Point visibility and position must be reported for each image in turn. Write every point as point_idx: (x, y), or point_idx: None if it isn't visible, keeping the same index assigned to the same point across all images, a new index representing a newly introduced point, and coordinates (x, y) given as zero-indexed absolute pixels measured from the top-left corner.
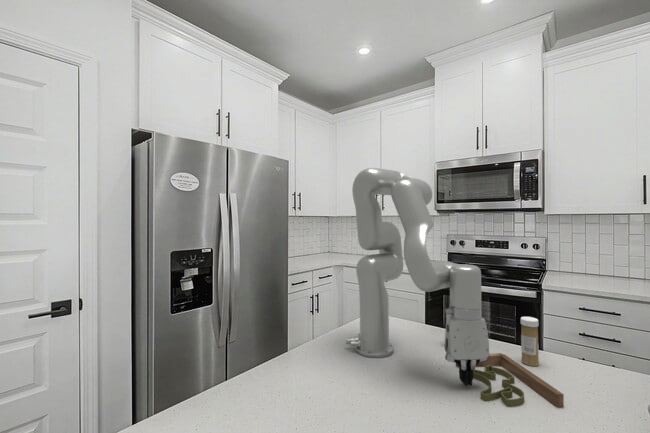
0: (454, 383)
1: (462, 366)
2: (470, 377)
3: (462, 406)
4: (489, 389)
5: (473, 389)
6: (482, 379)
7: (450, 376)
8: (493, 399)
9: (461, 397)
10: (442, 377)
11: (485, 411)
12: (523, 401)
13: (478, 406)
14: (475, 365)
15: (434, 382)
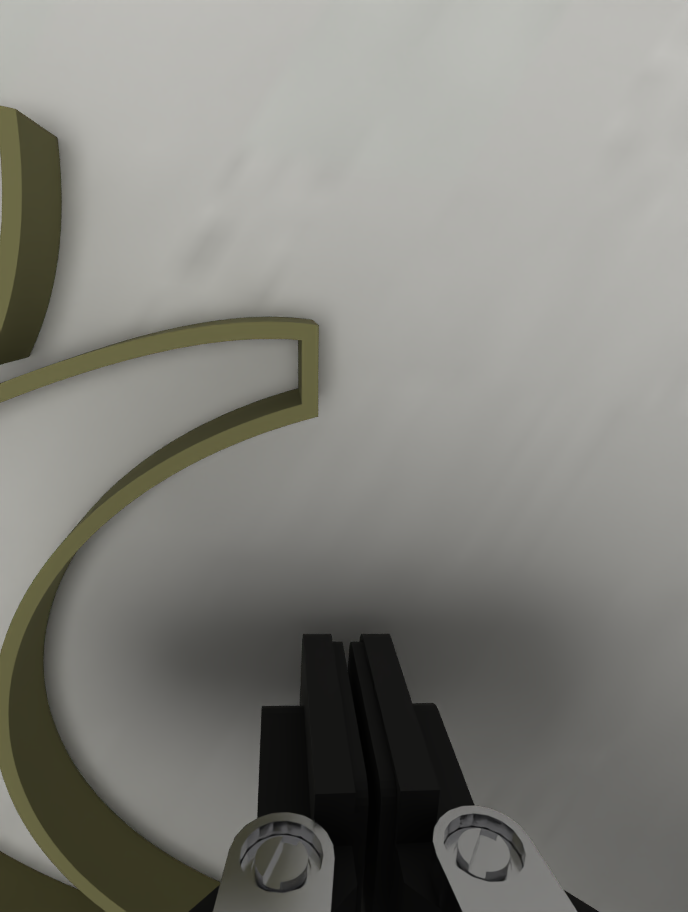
0: None
1: (531, 876)
2: (339, 701)
3: (658, 244)
4: (128, 481)
5: (286, 601)
6: (54, 781)
7: None
8: (161, 331)
9: (545, 442)
10: None
11: (438, 78)
12: None
13: (458, 212)
14: (219, 902)
15: (656, 772)
